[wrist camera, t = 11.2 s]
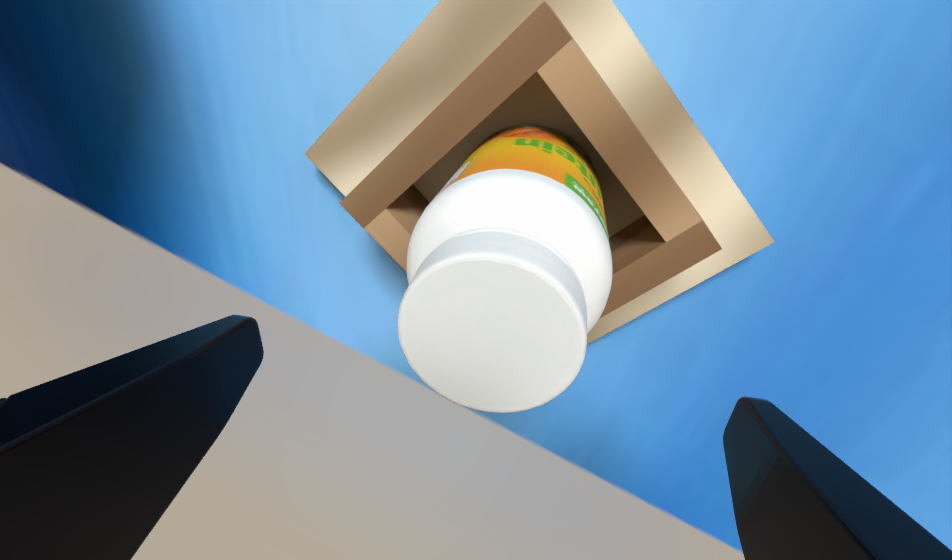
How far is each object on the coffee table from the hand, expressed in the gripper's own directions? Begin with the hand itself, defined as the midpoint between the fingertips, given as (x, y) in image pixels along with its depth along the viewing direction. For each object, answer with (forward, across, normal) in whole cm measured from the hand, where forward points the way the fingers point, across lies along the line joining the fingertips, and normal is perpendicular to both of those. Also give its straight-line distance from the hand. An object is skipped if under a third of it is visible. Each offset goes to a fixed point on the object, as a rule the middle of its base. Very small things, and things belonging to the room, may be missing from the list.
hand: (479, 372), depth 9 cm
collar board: (+12, 0, 0) cm, 12 cm away
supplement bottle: (+11, 0, 0) cm, 11 cm away
